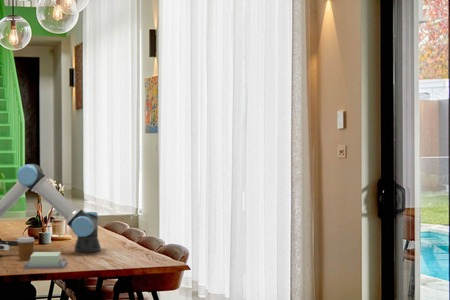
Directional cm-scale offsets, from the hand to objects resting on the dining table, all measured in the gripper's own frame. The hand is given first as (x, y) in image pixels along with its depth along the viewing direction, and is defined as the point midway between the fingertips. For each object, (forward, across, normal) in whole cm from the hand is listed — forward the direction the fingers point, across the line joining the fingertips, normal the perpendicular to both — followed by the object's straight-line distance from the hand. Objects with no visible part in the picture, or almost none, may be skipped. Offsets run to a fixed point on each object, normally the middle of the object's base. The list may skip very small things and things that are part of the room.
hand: (18, 246), depth 421 cm
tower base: (+28, +6, -7) cm, 29 cm away
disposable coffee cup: (+5, 0, -7) cm, 9 cm away
